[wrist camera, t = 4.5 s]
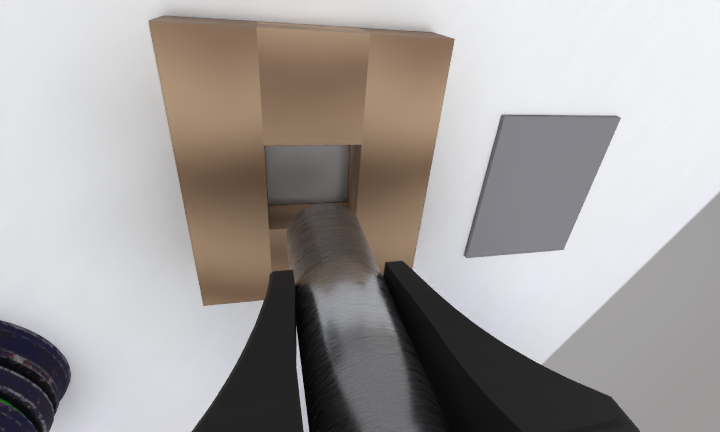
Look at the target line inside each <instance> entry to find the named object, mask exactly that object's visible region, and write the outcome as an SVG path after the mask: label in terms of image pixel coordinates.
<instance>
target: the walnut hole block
mask: <svg viewBox="0 0 720 432" xmlns="http://www.w3.org/2000/svg"><path fill="white" fill-rule="evenodd" d="M149 26H150V31H151V37H152V42H153V47H154V52H155V57H156V62H157V68H158V73H159V78H160V83H161V88H162V94H163V99H164V104H165V109H166V114H167V119H168V125H169V130H170V135H171V140H172V145H173V151H174V156H175V161H176V166H177V171H178V176H179V182H180V187H181V192H182V197H183V202H184V208H185V213H186V218H187V223H188V228H189V233H190V239H191V244H192V249H193V254H194V259H195V265H196V270H197V275H198V280H199V285H200V290H201V296H202V301H203V306H207V305H217V304H228V303H238V302H248V301H258V300H264V299H265V296H266V292H267V289H268V284H269V277H270V274H271V273H272V272H273V271H283V270H290V269H289V261H288V253H287V245H286V231H287V228H288V226H289V224H290V222H291V220H292V219H293V218H294V217H295V216H296V215H297V214H298V213H299V212H300V211H302V210H303V209H305V208H307V207H309V206H312V205H315V204H319V203H314V204H291V205H268V194H267V177H266V161H265V146H276V145H350V155H349V171H348V187H347V202H337V203H335V204H339V205H342V206H345V207H346V208H348V209H350V210H351V211H352V212H353V213H354V214H355V215H356V217H357V218H358V220H359V222H360V225H361V227H362V229H363V232H364V234H365V236H366V239H367V241H368V243H369V245H370V248H371V250H372V252H373V255H374V257H375V259H376V262H377V264H378V266H379V268H380V271H381V273H382V275H383V274H384V267H385V262H392V261H403V262H405V263H406V264H407V265H408V266H409V267H410V268H411V269H412V267H413V261H414V256H415V251H416V245H417V240H418V234H419V229H420V224H421V218H422V213H423V207H424V202H425V197H426V191H427V186H428V180H429V175H430V169H431V164H432V159H433V153H434V148H435V142H436V137H437V132H438V126H439V121H440V115H441V110H442V104H443V99H444V94H445V88H446V83H447V77H448V72H449V67H450V61H451V56H452V50H453V45H454V40H455V39H453V38H450V37H446V36H443V35H439V34H436V33H433V32H417V31H401V30H385V29H369V28H353V27H337V26H321V25H305V24H289V23H273V22H257V21H241V20H224V19H208V18H192V17H176V16H161V17H158V18H155V19H153V20H150V21H149Z"/></svg>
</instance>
